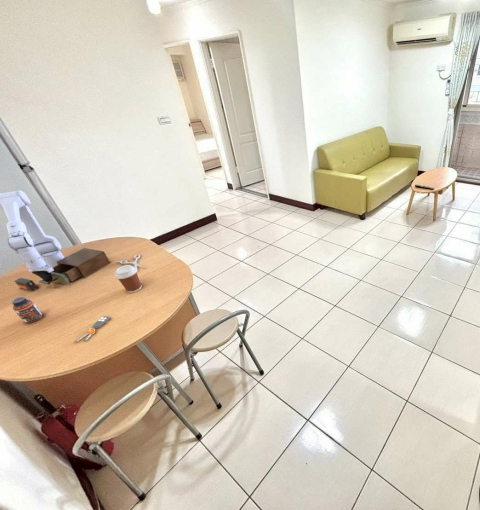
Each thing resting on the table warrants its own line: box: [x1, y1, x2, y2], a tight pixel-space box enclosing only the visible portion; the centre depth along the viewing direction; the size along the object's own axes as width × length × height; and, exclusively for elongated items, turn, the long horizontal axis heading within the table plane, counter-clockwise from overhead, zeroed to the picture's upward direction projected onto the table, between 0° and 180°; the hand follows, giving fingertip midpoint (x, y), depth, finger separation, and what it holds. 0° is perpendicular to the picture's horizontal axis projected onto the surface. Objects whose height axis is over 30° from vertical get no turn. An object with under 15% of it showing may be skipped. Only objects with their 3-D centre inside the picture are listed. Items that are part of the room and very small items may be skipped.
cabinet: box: [57, 247, 111, 279], centre depth 150 cm, size 15×15×8 cm
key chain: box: [76, 315, 110, 342], centre depth 115 cm, size 13×4×2 cm, turn 174°
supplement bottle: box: [11, 296, 44, 324], centre depth 118 cm, size 6×6×11 cm
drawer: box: [38, 264, 82, 286], centre depth 142 cm, size 18×13×6 cm
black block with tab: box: [14, 277, 39, 292], centre depth 137 cm, size 9×3×5 cm, turn 75°
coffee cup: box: [114, 264, 143, 293], centre depth 134 cm, size 9×9×12 cm
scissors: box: [117, 254, 144, 270], centre depth 155 cm, size 11×1×20 cm
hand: (49, 281), depth 137 cm, fingers closed, pressing on drawer
